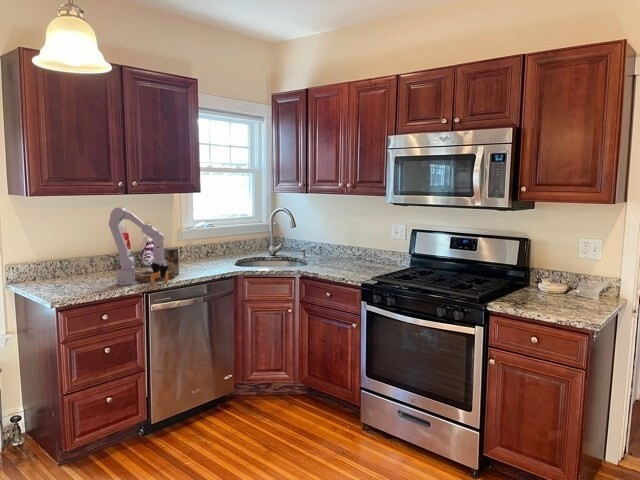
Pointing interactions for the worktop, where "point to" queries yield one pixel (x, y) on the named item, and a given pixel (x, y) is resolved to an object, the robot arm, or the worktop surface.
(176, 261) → the coffee box
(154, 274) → the orange arch block
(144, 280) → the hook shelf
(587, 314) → the worktop surface
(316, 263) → the worktop surface
